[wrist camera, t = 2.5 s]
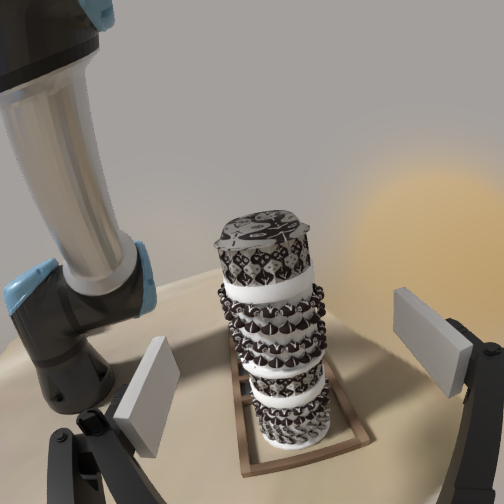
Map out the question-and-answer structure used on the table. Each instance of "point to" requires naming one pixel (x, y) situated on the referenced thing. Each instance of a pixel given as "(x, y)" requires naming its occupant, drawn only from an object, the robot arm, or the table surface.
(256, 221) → the decorative candle
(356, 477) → the table surface
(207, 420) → the table surface
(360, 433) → the brown flat rectangular frame
